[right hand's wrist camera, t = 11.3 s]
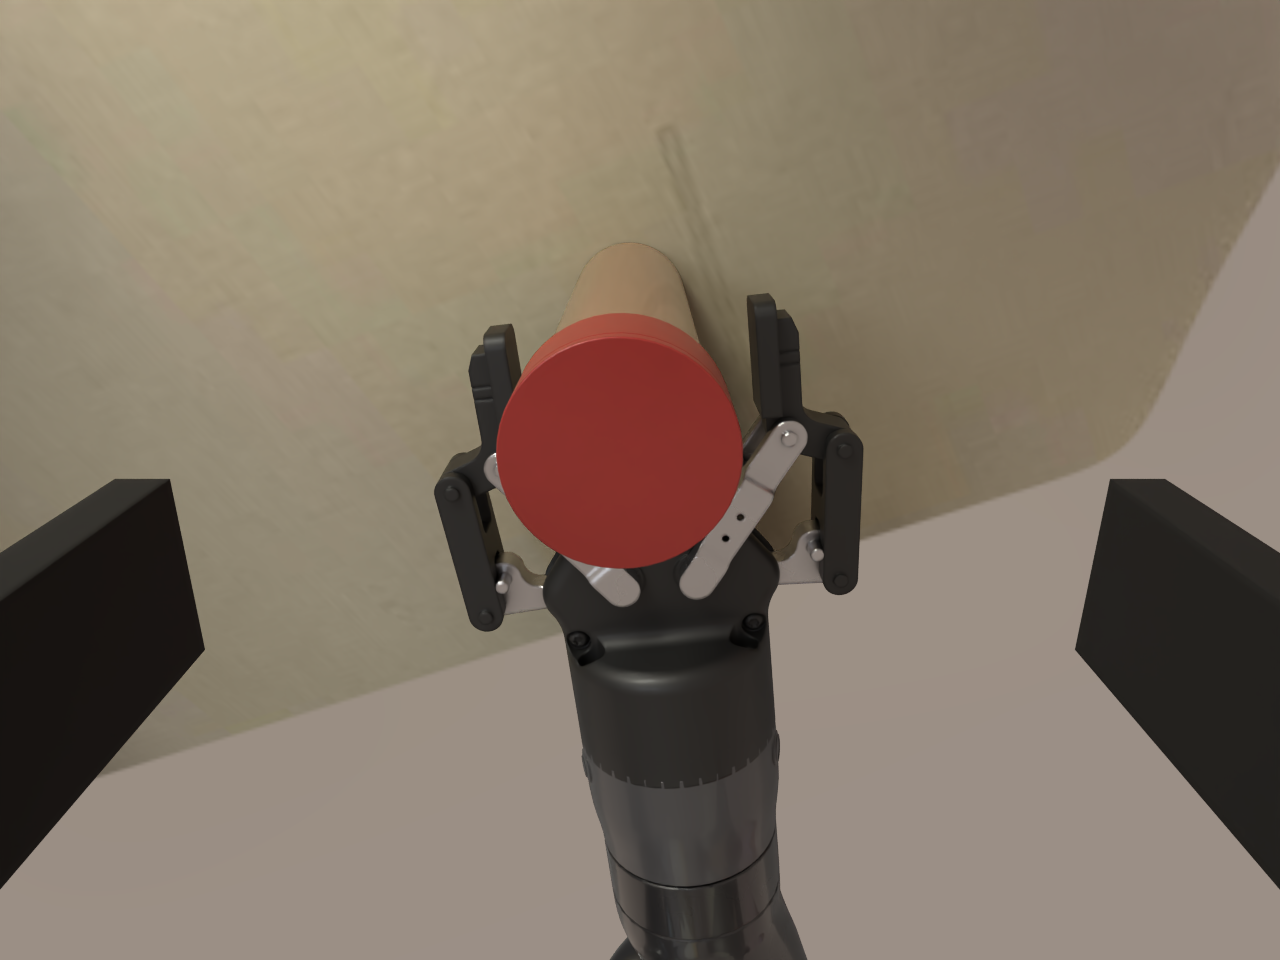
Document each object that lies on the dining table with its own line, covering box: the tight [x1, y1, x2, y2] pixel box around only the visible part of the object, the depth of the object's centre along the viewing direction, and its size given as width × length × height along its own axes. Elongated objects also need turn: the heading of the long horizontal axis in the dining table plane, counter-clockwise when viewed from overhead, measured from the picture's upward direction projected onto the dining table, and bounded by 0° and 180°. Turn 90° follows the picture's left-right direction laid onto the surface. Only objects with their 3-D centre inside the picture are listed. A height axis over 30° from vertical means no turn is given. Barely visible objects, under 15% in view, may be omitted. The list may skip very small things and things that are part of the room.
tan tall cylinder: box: [554, 243, 700, 344], centre depth 26 cm, size 4×4×18 cm
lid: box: [496, 313, 743, 569], centre depth 19 cm, size 5×5×2 cm
